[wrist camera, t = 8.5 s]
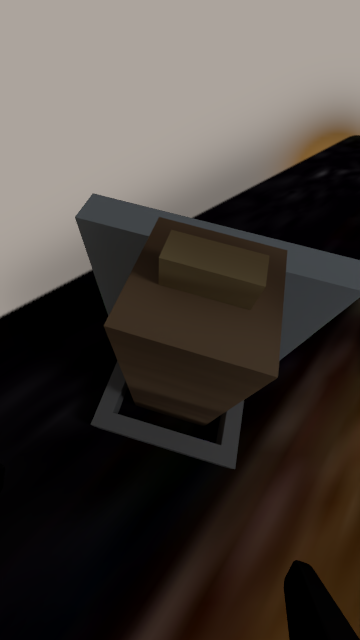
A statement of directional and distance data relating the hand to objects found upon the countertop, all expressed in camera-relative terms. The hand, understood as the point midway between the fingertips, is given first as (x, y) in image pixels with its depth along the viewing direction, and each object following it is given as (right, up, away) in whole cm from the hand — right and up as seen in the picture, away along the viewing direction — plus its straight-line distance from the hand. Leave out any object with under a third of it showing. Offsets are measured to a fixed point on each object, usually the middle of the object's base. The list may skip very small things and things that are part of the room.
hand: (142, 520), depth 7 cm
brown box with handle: (+1, +1, +11) cm, 11 cm away
